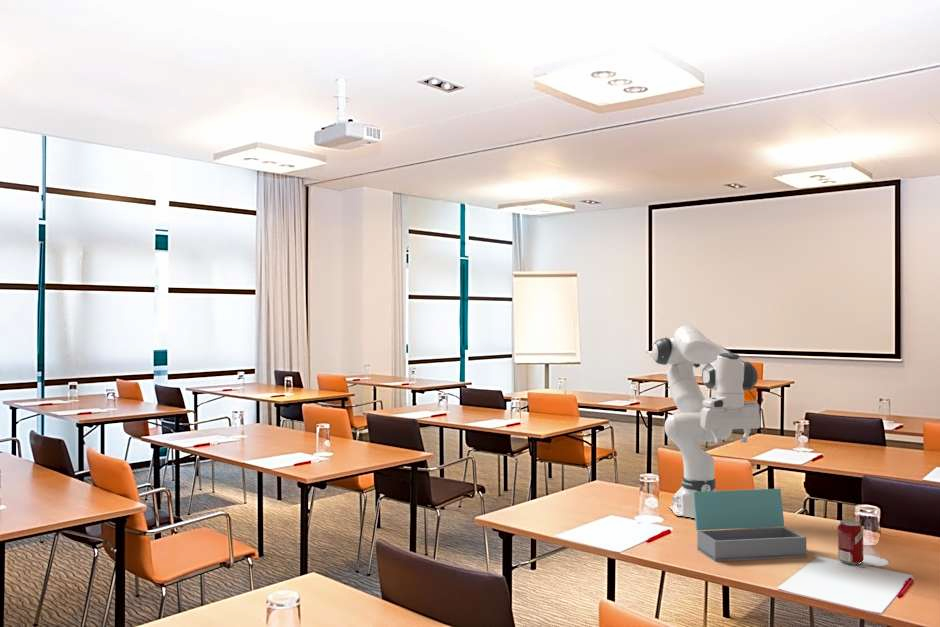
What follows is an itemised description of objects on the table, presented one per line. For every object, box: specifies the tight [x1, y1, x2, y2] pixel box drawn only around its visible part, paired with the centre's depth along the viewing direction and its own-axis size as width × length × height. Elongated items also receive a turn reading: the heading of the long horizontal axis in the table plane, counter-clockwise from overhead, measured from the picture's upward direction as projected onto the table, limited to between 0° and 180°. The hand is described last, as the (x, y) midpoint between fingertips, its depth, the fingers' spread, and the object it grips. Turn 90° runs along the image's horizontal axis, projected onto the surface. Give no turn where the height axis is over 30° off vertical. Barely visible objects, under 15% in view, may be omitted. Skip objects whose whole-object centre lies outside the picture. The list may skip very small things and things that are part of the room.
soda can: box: [837, 519, 865, 565], centre depth 222 cm, size 7×7×12 cm
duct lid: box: [693, 488, 786, 531], centre depth 239 cm, size 12×30×1 cm
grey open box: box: [696, 527, 808, 562], centre depth 231 cm, size 12×30×6 cm, turn 98°
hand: (731, 442), depth 247 cm, fingers open, 8 cm apart
